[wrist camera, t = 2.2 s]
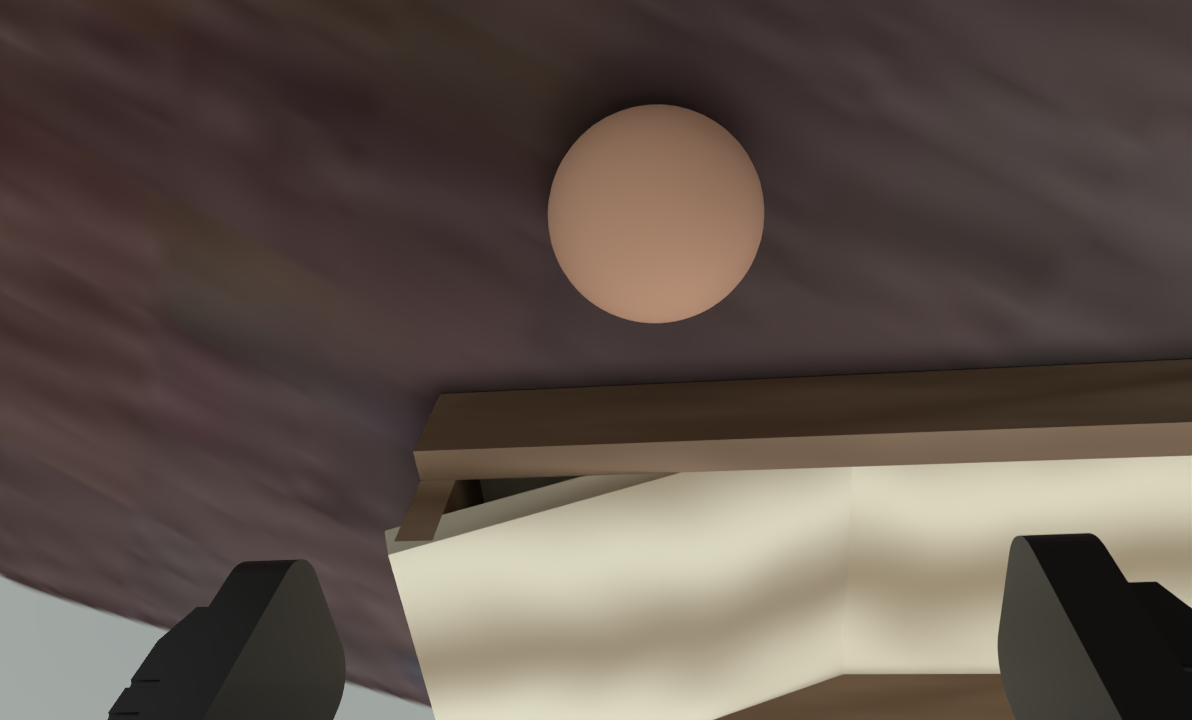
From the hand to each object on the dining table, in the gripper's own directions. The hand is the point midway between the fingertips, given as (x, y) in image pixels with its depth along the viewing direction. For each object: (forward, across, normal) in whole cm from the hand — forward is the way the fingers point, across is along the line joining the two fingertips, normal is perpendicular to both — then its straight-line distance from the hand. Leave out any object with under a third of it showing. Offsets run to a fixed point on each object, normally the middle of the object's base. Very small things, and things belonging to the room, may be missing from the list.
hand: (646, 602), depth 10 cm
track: (+14, -10, +12) cm, 21 cm away
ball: (+12, 0, -1) cm, 12 cm away
